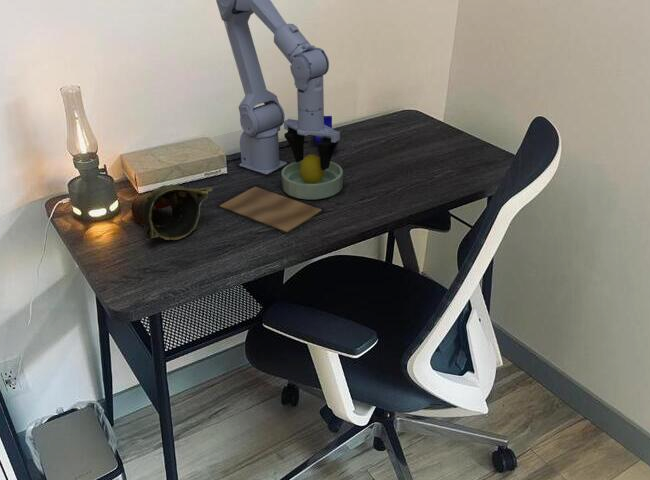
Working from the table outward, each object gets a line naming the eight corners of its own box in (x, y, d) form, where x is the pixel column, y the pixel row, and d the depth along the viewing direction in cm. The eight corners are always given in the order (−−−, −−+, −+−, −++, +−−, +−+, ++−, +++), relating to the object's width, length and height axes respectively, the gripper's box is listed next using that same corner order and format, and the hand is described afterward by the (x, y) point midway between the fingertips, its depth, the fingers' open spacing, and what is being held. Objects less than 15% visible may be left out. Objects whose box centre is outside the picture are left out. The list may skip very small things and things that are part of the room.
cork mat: (219, 206, 151) (219, 205, 151) (255, 187, 158) (255, 186, 158) (287, 232, 140) (287, 231, 140) (322, 210, 148) (322, 209, 147)
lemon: (321, 191, 155) (321, 159, 150) (298, 190, 156) (297, 158, 151) (325, 181, 159) (325, 149, 155) (303, 180, 160) (302, 148, 156)
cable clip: (315, 137, 183) (315, 116, 180) (331, 136, 183) (331, 115, 180) (315, 154, 173) (315, 132, 170) (333, 154, 173) (333, 132, 170)
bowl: (269, 190, 157) (269, 174, 155) (307, 169, 166) (307, 154, 164) (317, 206, 149) (317, 190, 147) (354, 184, 158) (354, 168, 156)
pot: (160, 163, 149) (198, 163, 135) (188, 204, 155) (228, 207, 141) (101, 211, 143) (136, 216, 129) (133, 252, 148) (169, 260, 134)
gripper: (273, 106, 148) (276, 163, 156) (325, 119, 140) (326, 178, 148) (294, 97, 153) (296, 153, 160) (345, 109, 145) (345, 167, 152)
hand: (312, 164), depth 154 cm, fingers open, 7 cm apart
